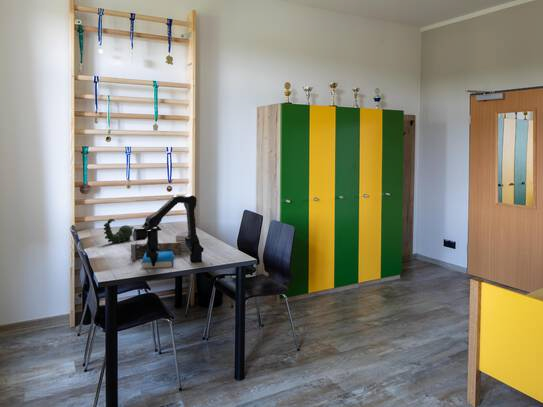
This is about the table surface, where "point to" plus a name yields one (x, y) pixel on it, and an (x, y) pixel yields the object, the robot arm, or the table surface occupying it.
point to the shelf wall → (163, 248)
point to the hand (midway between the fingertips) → (153, 266)
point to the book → (159, 260)
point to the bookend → (134, 250)
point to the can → (182, 241)
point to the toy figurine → (121, 235)
